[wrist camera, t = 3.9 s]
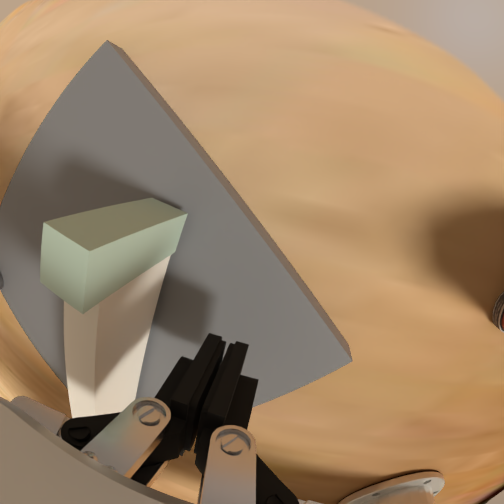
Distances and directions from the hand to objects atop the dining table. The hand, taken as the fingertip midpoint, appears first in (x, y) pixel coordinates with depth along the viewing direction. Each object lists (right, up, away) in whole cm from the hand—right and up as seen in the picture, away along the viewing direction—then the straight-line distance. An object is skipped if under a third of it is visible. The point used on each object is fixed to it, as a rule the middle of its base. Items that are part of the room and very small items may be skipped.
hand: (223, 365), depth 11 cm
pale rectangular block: (-5, 0, +3) cm, 6 cm away
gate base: (-8, +2, +5) cm, 10 cm away
